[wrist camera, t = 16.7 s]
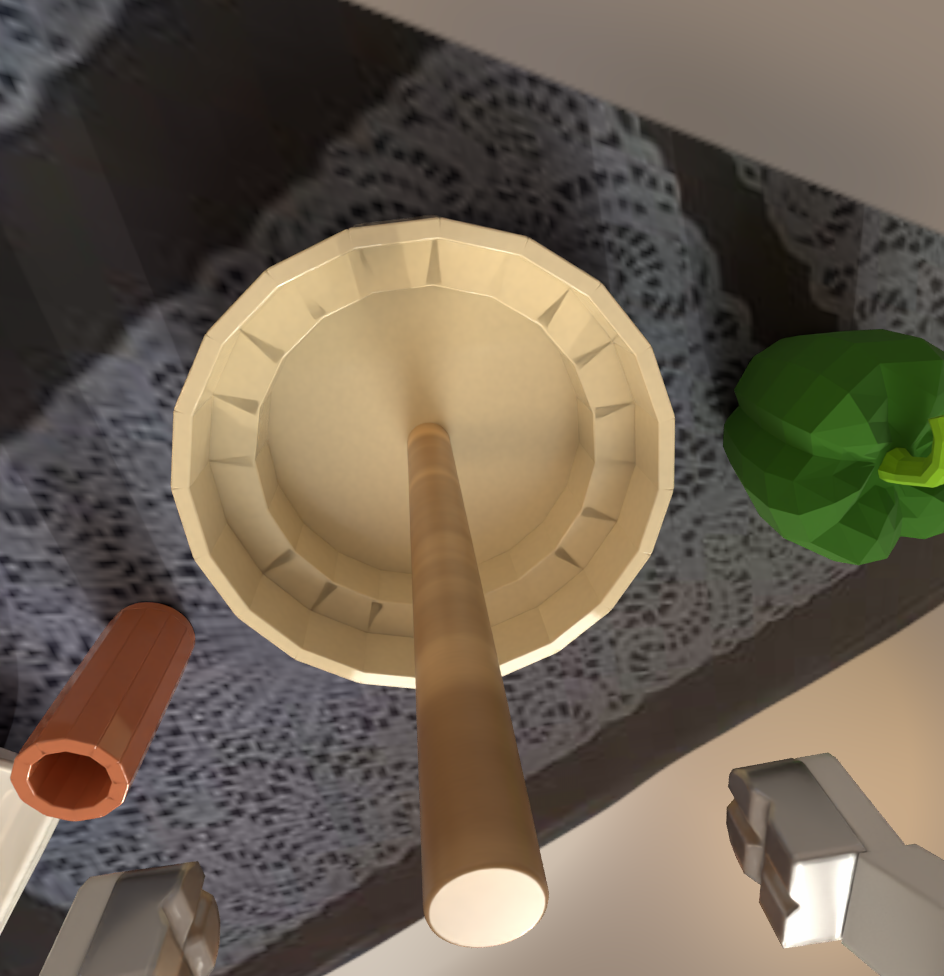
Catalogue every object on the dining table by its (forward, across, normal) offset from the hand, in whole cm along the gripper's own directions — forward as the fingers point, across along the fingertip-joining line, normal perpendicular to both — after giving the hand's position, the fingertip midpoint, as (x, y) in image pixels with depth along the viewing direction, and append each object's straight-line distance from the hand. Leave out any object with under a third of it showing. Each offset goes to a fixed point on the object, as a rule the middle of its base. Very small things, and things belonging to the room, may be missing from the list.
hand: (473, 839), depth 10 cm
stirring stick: (+19, 0, 0) cm, 19 cm away
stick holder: (+20, +14, +8) cm, 26 cm away
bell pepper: (+20, -16, +1) cm, 26 cm away
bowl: (+20, 0, 0) cm, 20 cm away
